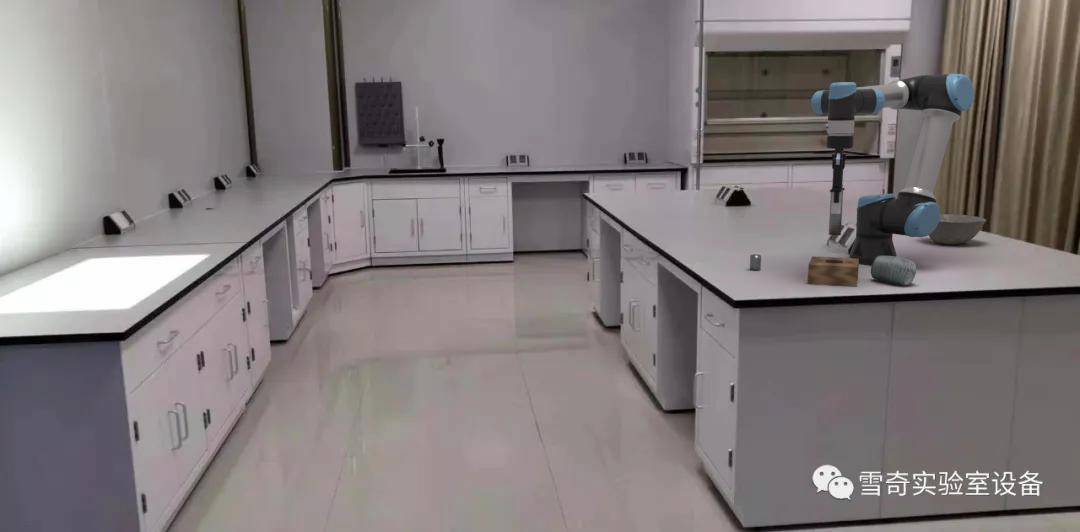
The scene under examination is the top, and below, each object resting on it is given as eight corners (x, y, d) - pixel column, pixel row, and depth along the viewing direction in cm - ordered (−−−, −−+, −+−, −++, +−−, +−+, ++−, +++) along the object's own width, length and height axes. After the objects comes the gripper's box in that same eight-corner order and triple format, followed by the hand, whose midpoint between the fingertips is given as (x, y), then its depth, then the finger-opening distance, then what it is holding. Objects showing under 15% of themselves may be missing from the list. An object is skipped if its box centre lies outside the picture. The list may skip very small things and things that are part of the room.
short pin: (761, 269, 272) (761, 254, 271) (759, 271, 269) (760, 256, 268) (750, 268, 274) (751, 254, 273) (749, 270, 270) (749, 255, 270)
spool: (858, 270, 252) (877, 242, 250) (876, 280, 257) (894, 253, 255) (891, 288, 240) (911, 260, 238) (909, 299, 245) (928, 271, 243)
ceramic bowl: (995, 248, 301) (998, 221, 299) (932, 249, 301) (934, 222, 299) (965, 238, 323) (967, 213, 321) (907, 239, 323) (908, 214, 321)
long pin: (841, 233, 251) (843, 188, 248) (840, 235, 248) (842, 189, 245) (829, 233, 252) (831, 188, 250) (828, 235, 249) (830, 189, 246)
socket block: (857, 277, 257) (858, 258, 255) (856, 286, 244) (857, 267, 243) (811, 274, 262) (812, 256, 261) (807, 283, 249) (808, 264, 248)
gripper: (828, 134, 253) (824, 209, 258) (825, 136, 238) (821, 215, 243) (854, 133, 250) (850, 209, 255) (852, 136, 235) (848, 216, 240)
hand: (836, 212), depth 249 cm, fingers closed on long pin, 3 cm apart
